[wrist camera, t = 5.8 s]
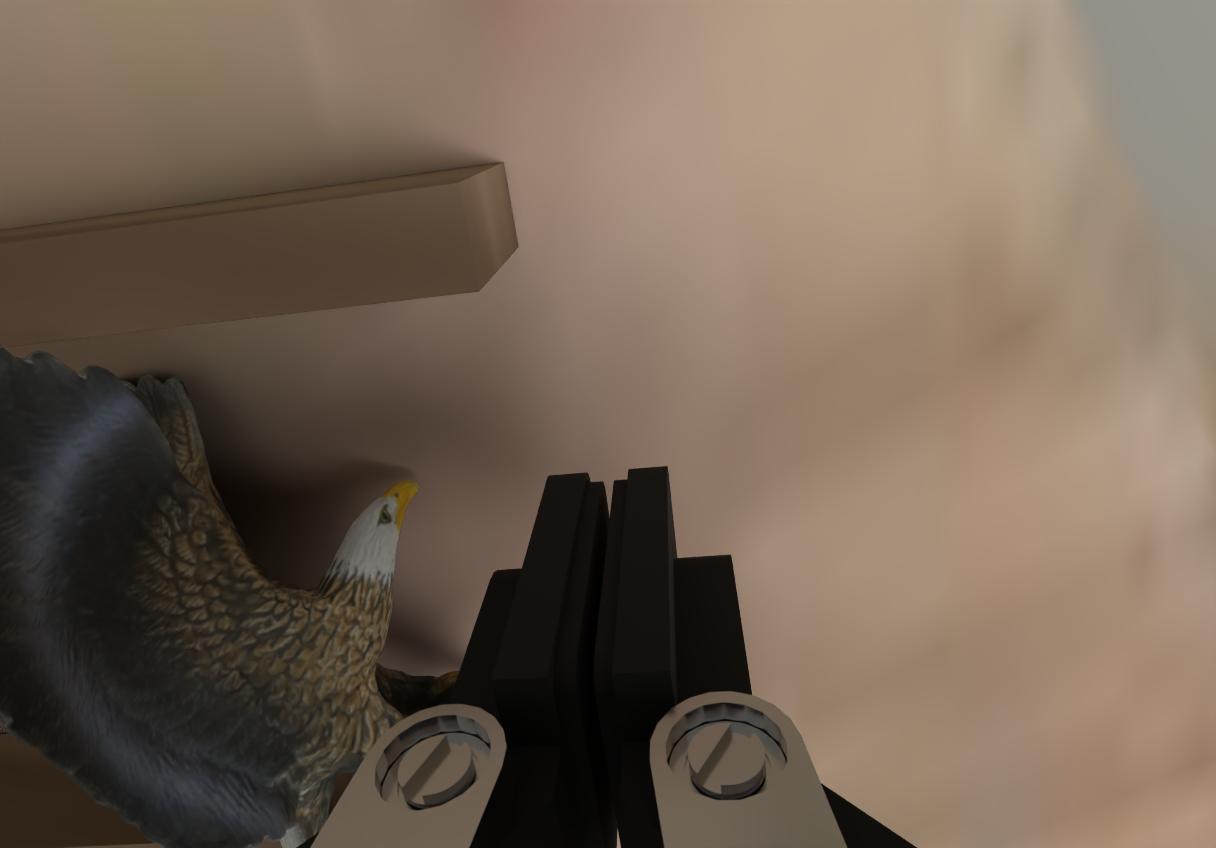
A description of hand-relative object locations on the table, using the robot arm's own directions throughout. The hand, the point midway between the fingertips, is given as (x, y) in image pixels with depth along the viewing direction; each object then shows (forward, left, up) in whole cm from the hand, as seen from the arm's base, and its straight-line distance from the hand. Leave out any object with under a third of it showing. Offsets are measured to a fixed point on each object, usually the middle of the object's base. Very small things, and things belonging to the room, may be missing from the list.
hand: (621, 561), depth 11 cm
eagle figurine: (-1, +6, -3) cm, 7 cm away
